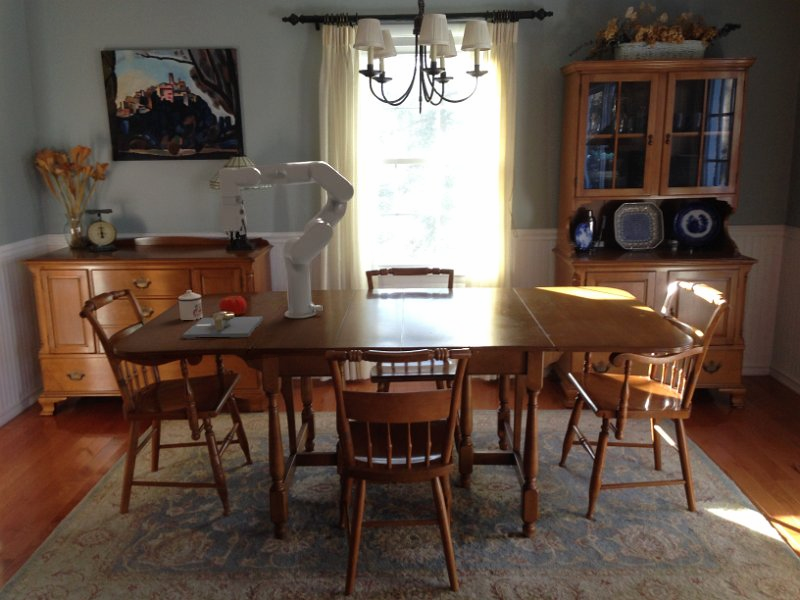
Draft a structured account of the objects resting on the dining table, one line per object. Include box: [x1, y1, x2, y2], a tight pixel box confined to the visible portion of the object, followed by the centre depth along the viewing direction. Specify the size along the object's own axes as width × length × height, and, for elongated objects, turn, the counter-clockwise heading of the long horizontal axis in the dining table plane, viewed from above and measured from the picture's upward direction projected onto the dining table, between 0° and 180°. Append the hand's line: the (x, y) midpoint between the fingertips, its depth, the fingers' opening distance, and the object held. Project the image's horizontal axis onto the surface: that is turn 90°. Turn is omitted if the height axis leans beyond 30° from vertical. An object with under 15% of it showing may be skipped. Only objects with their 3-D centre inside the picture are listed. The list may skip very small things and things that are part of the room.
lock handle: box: [212, 311, 235, 330], centre depth 253 cm, size 14×8×4 cm, turn 4°
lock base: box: [182, 316, 264, 339], centre depth 257 cm, size 24×24×4 cm
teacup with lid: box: [177, 289, 204, 321], centre depth 275 cm, size 12×9×12 cm
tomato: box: [219, 295, 248, 317], centre depth 278 cm, size 11×11×8 cm
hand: (235, 249), depth 260 cm, fingers closed
